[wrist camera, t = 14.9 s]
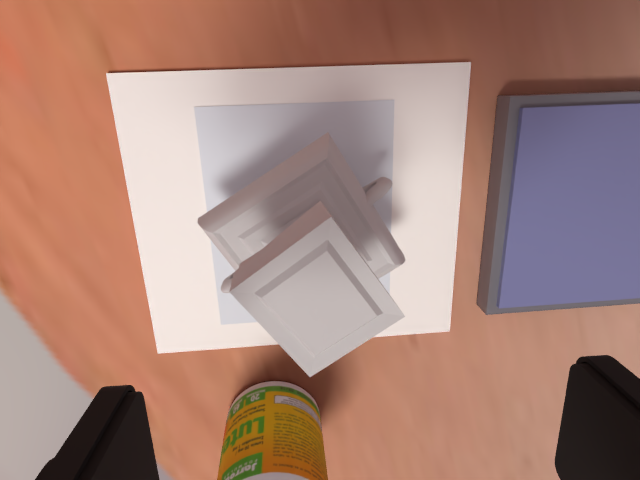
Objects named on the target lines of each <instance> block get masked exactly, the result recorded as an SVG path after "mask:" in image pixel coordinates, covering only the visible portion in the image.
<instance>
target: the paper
mask: <svg viewBox="0 0 640 480" xmlns="http://www.w3.org/2000/svg"><path fill="white" fill-rule="evenodd" d="M470 71H471V62H455V63H422V64H390V65H358V66H325V67H293V68H261V69H229V70H196V71H164V72H132V73H106V76H107V81H108V86H109V92H110V97H111V103H112V108H113V113H114V119H115V124H116V130H117V135H118V140H119V146H120V151H121V157H122V162H123V167H124V173H125V178H126V184H127V189H128V195H129V200H130V205H131V211H132V216H133V222H134V227H135V232H136V238H137V243H138V249H139V254H140V259H141V265H142V270H143V276H144V281H145V286H146V292H147V297H148V303H149V308H150V314H151V319H152V324H153V330H154V335H155V341H156V346H157V351H158V353H171V352H184V351H198V350H211V349H224V348H237V347H250V346H263V345H276V344H278V343H277V342H276V341H275V340H274V339H273V338H272V337H271V336H270V334H269V333H268V332H267V331H266V330H265V329H264V328H263V327H262V326H261V325H260V324H259V323H258V322H257V321H256V320H255V319H254V318H253V316H252V315H251V314H250V313H249V312H248V311H247V310H246V309H245V308H244V307H243V306H242V305H241V304H240V303H239V302H238V301H237V300H236V299H235V297H234V296H233V295H232V294H231V293H223V292H222V291H221V285H222V283H223V281H224V279H225V278H227V277H228V276H229V275H231V274H232V273H234V272H235V270H234V268H233V267H232V266H231V265H230V263H229V262H228V261H227V260H226V258H225V257H224V256H223V255H222V253H221V252H220V251H219V250H218V248H217V247H216V246H215V245H214V243H213V242H212V241H211V239H210V238H209V237H208V236H207V234H206V233H205V232H204V231H203V229H202V228H201V227H200V226H199V224H198V218H199V217H201V216H202V215H204V214H205V213H207V212H208V211H210V210H211V209H213V208H214V207H216V206H217V205H219V204H220V203H222V202H223V201H225V200H226V199H228V198H229V197H231V196H232V195H234V194H235V193H237V192H238V191H240V190H241V189H243V188H244V187H246V186H247V185H249V184H250V183H252V182H253V181H255V180H256V179H258V178H259V177H261V176H262V175H264V174H265V173H267V172H268V171H270V170H271V169H273V168H274V167H276V166H277V165H279V164H280V163H282V162H284V161H285V160H287V159H288V158H290V157H291V156H293V155H294V154H296V153H297V152H299V151H300V150H302V149H303V148H305V147H306V146H308V145H309V144H311V143H312V142H314V141H315V140H317V139H318V138H320V137H321V136H323V135H324V134H326V133H327V132H328V133H329V134H330V136H331V137H332V139H333V141H334V142H335V144H336V146H337V147H338V149H339V150H340V152H341V154H342V155H343V157H344V159H345V160H346V162H347V163H348V165H349V167H350V168H351V170H352V172H353V173H354V175H355V176H356V178H357V180H358V181H359V183H360V185H361V186H362V187H364V186H366V185H368V184H370V183H371V182H373V181H374V180H376V179H378V178H380V177H386V178H388V179H390V180H391V181H392V187H391V188H390V190H389V191H388V192H387V193H386V194H385V195H384V196H383V197H382V198H381V199H379V200H378V201H376V202H375V203H374V204H373V206H374V207H375V209H376V210H377V212H378V214H379V215H380V217H381V219H382V220H383V222H384V223H385V225H386V227H387V228H388V230H389V232H390V233H391V235H392V236H393V238H394V240H395V241H396V243H397V245H398V246H399V248H400V249H401V251H402V253H403V254H404V257H405V262H404V263H403V264H402V265H400V266H399V267H397V268H395V269H394V270H392V271H391V272H389V273H387V274H386V275H384V276H382V277H381V278H379V279H378V280H379V281H380V282H381V284H382V285H383V286H384V288H385V289H386V290H387V292H388V293H389V294H390V296H391V297H392V299H393V300H394V301H395V303H396V304H397V306H398V307H399V308H400V310H401V311H402V313H403V314H404V316H405V317H404V318H402V319H401V320H399V321H397V322H396V323H394V324H393V325H391V326H390V327H388V328H386V329H385V330H383V331H382V332H380V333H379V334H377V335H376V336H374V337H382V336H395V335H408V334H421V333H434V332H447V331H450V321H451V309H452V296H453V284H454V271H455V259H456V246H457V234H458V221H459V209H460V196H461V184H462V171H463V159H464V146H465V134H466V121H467V109H468V96H469V83H470Z"/></svg>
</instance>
